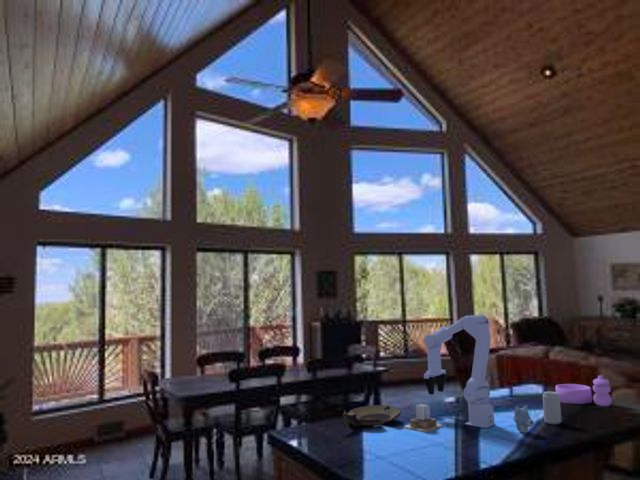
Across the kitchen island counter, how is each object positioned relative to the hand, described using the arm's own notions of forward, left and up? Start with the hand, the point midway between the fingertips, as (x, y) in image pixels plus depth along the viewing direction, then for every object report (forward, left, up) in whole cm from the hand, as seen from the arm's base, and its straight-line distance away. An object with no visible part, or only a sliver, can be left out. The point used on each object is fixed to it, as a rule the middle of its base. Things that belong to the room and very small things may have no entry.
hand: (435, 392), depth 235 cm
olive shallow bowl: (+14, +30, -10) cm, 35 cm away
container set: (-41, -61, -10) cm, 74 cm away
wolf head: (-42, +5, -10) cm, 43 cm away
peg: (-7, +21, -9) cm, 24 cm away
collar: (-7, +21, -9) cm, 24 cm away
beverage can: (-44, -16, -10) cm, 48 cm away
